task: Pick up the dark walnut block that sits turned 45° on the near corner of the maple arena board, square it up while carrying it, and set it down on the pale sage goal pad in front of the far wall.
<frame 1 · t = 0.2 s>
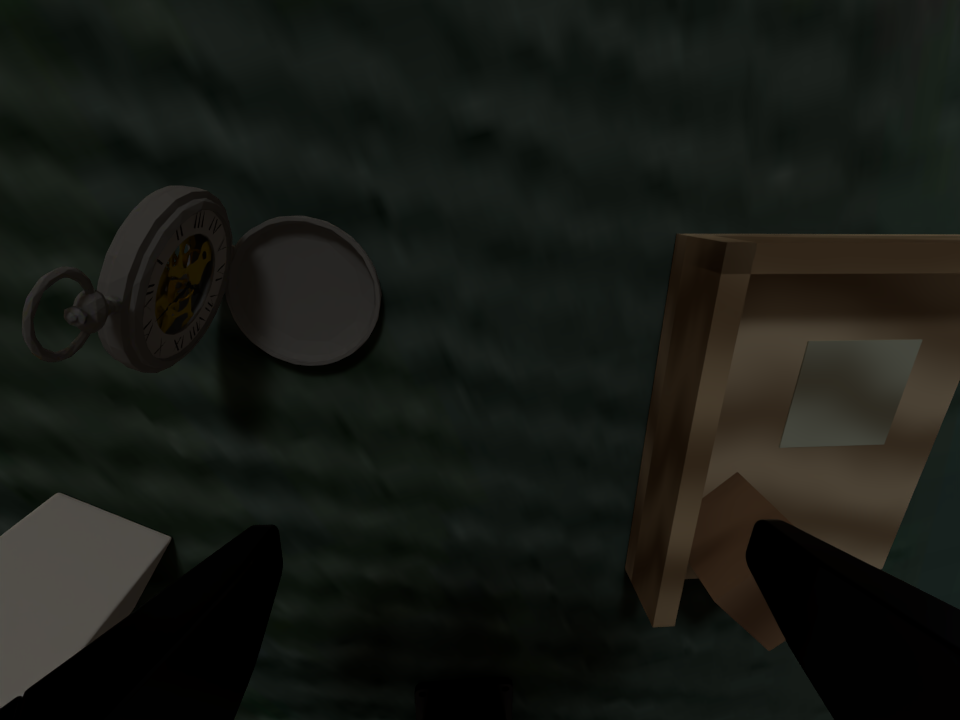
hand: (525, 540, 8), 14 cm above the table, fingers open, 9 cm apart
arena board: (787, 421, 25), on the table
pocket watch: (286, 277, 20), on the table
milk: (101, 549, 25), on the table
walnut block: (724, 524, 26), point 1 cm above the table, touching arena board
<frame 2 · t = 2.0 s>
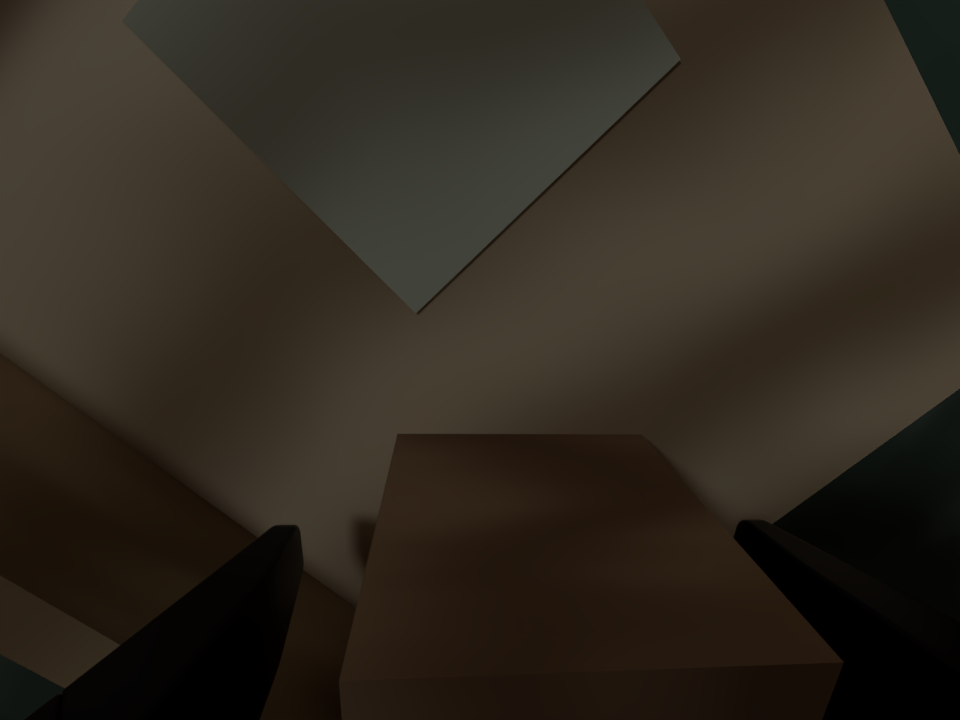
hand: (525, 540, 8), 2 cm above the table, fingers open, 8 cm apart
arena board: (419, 230, 9), on the table
walnut block: (514, 536, 10), point 1 cm above the table, touching arena board
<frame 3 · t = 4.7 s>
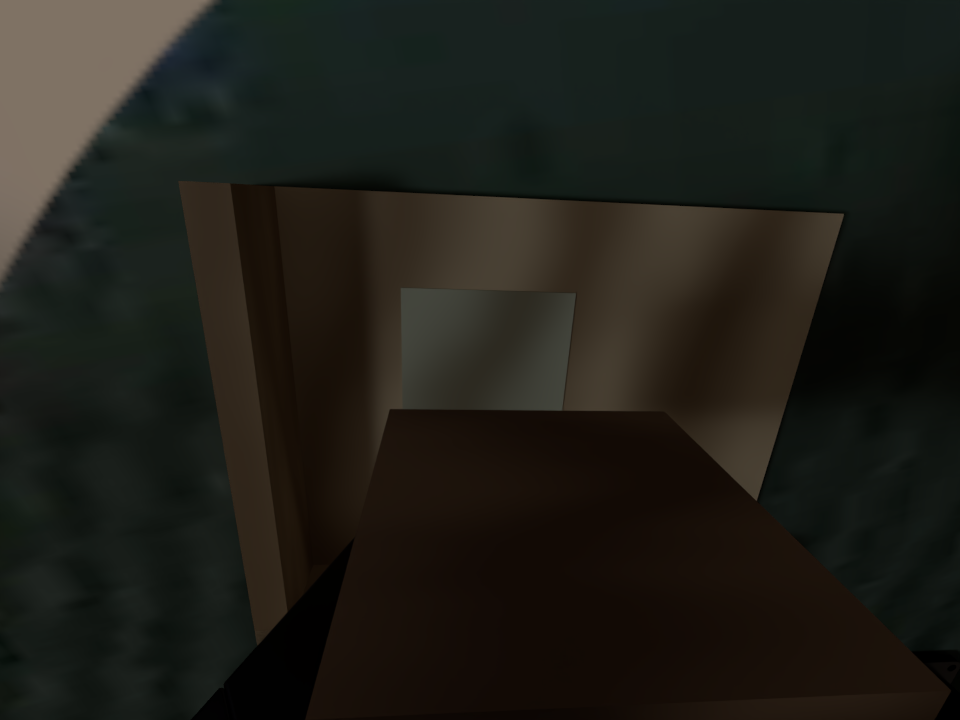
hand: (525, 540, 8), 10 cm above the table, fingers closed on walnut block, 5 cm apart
arena board: (530, 409, 18), on the table
walnut block: (520, 524, 9), point 9 cm above the table, touching gripper
when the fingers open (3 cm above the table, at t = 6.5 s): walnut block drops 2 cm, resting on arena board.
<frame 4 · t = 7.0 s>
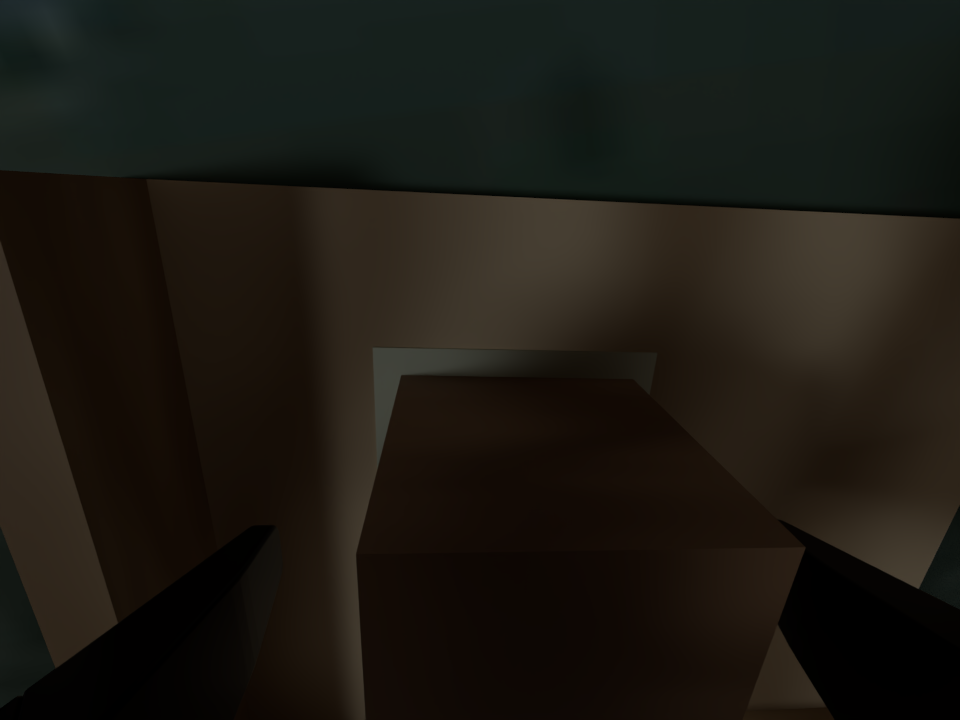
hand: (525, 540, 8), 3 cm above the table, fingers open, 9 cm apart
arena board: (571, 513, 12), on the table
walnut block: (511, 477, 10), point 1 cm above the table, touching arena board
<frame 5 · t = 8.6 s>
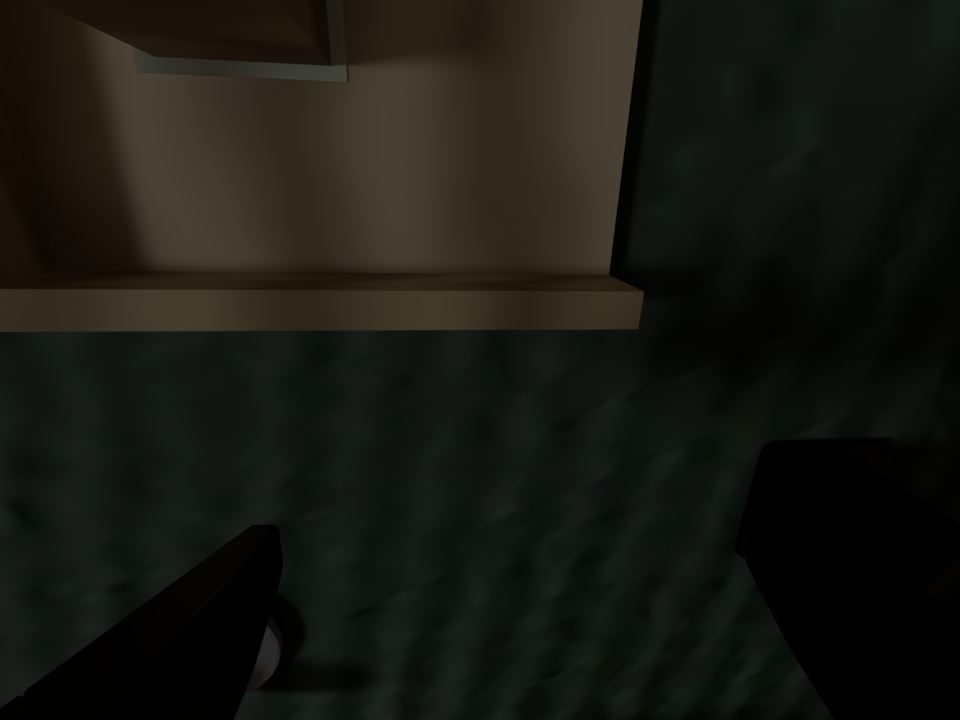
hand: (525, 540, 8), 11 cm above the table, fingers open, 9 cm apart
arena board: (318, 51, 14), on the table
pocket watch: (210, 645, 23), on the table
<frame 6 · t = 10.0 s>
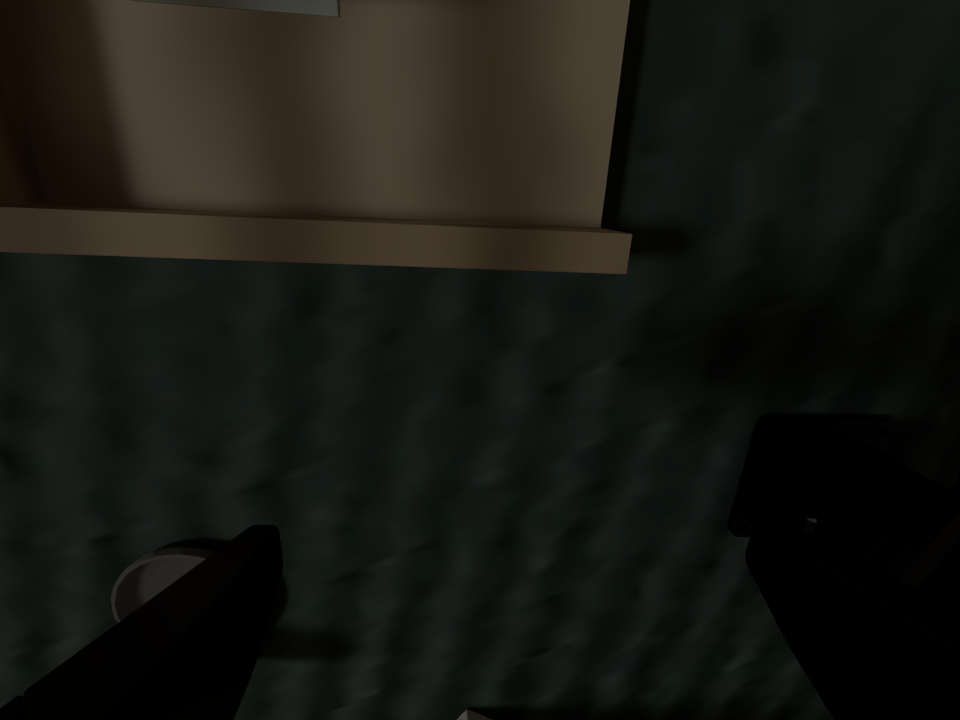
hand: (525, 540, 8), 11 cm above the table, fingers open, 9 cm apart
pocket watch: (192, 605, 22), on the table
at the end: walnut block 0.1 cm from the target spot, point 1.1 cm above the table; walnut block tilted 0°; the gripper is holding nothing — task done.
